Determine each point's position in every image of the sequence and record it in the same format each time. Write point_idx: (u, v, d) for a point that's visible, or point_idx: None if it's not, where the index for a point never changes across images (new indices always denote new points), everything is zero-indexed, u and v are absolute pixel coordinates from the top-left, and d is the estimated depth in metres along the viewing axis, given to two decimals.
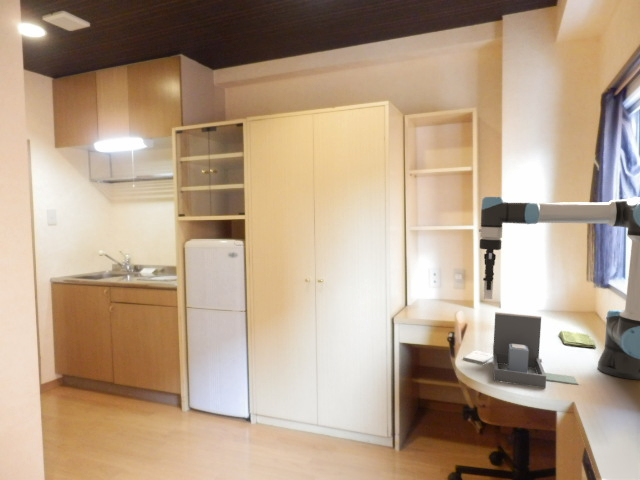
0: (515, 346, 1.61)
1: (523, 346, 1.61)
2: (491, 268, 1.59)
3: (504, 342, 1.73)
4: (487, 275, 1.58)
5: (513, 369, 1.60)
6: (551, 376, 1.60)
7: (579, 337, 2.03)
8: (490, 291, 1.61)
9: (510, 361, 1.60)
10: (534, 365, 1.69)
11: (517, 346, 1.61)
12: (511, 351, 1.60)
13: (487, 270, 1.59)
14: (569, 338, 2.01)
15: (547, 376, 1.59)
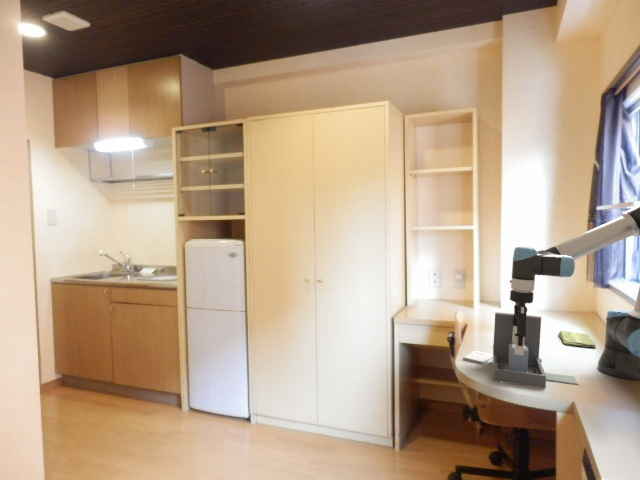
0: None
1: None
2: (523, 324, 1.53)
3: (504, 342, 1.73)
4: (519, 331, 1.52)
5: (513, 369, 1.60)
6: (551, 376, 1.60)
7: (579, 337, 2.03)
8: (521, 347, 1.54)
9: (510, 361, 1.60)
10: (534, 365, 1.69)
11: None
12: (511, 351, 1.60)
13: (519, 326, 1.53)
14: (569, 338, 2.01)
15: (547, 376, 1.59)
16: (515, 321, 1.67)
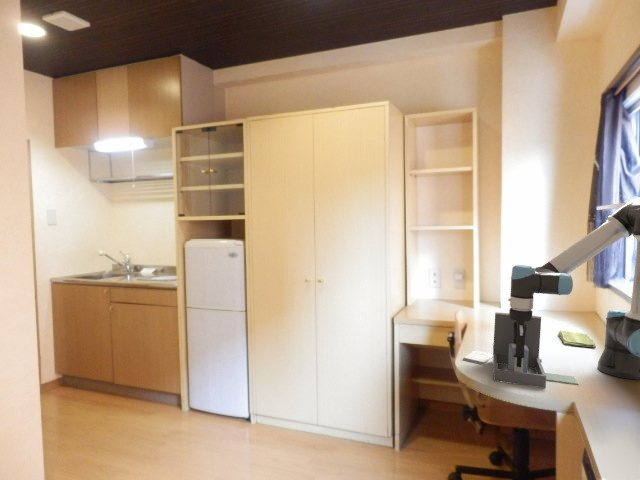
0: (515, 346, 1.61)
1: None
2: (522, 346, 1.55)
3: (504, 342, 1.73)
4: (518, 353, 1.56)
5: (513, 369, 1.60)
6: (551, 376, 1.60)
7: (579, 337, 2.03)
8: (520, 368, 1.58)
9: (510, 361, 1.60)
10: (534, 365, 1.69)
11: None
12: (511, 351, 1.60)
13: (518, 348, 1.56)
14: (569, 338, 2.01)
15: (547, 376, 1.59)
16: None
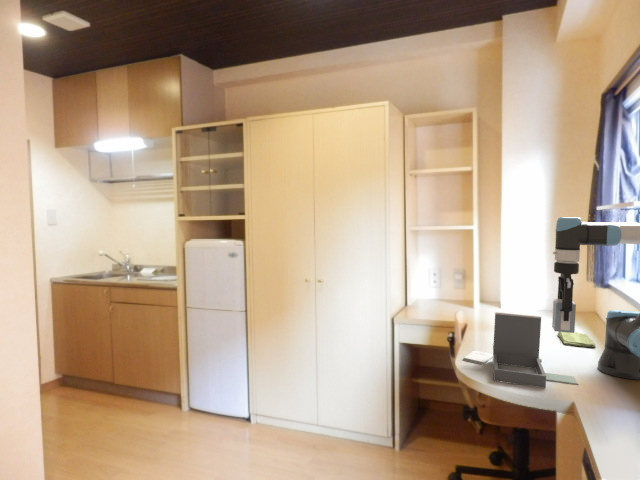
0: (561, 300, 1.56)
1: None
2: (570, 299, 1.50)
3: (504, 342, 1.73)
4: (565, 306, 1.51)
5: (559, 324, 1.55)
6: (551, 376, 1.60)
7: (578, 337, 2.03)
8: (567, 322, 1.53)
9: (556, 316, 1.55)
10: (534, 365, 1.69)
11: None
12: (557, 305, 1.55)
13: (565, 301, 1.51)
14: (569, 338, 2.01)
15: (547, 376, 1.59)
16: None
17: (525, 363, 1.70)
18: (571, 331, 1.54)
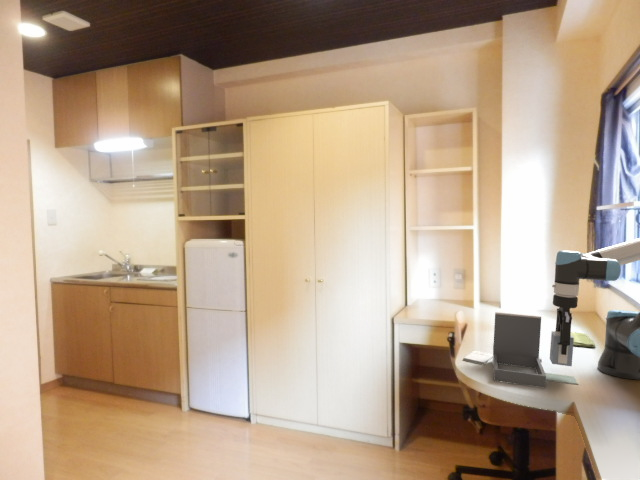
0: (559, 333, 1.57)
1: None
2: (568, 333, 1.51)
3: (504, 342, 1.73)
4: (563, 340, 1.51)
5: (557, 357, 1.56)
6: (551, 376, 1.60)
7: (578, 337, 2.03)
8: (565, 355, 1.54)
9: (554, 348, 1.56)
10: (534, 365, 1.69)
11: None
12: (555, 338, 1.56)
13: (563, 335, 1.51)
14: None
15: (547, 376, 1.59)
16: None
17: (525, 363, 1.70)
18: (568, 364, 1.55)
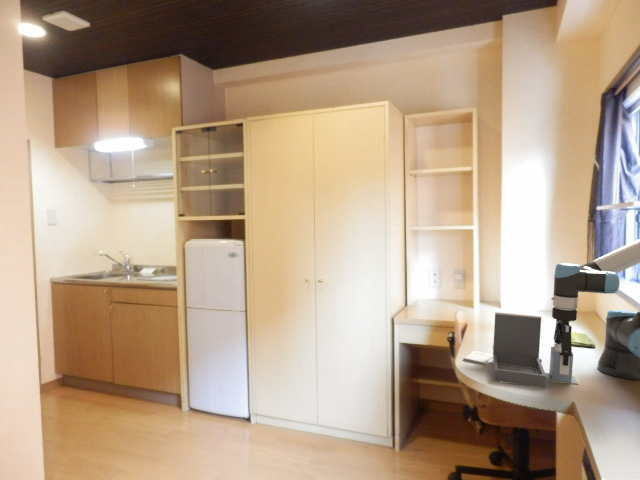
0: (558, 349, 1.57)
1: None
2: (569, 343, 1.49)
3: (504, 342, 1.73)
4: None
5: (557, 372, 1.56)
6: None
7: (578, 337, 2.03)
8: (567, 366, 1.51)
9: (554, 364, 1.56)
10: (534, 365, 1.69)
11: (560, 349, 1.57)
12: (555, 354, 1.56)
13: (564, 345, 1.49)
14: None
15: (547, 376, 1.59)
16: (557, 339, 1.63)
17: (525, 363, 1.70)
18: (568, 380, 1.55)
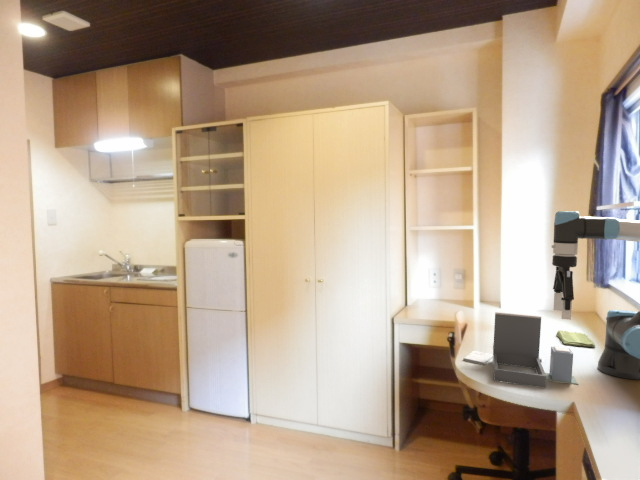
0: (558, 349, 1.57)
1: (566, 349, 1.58)
2: (570, 287, 1.50)
3: (504, 342, 1.73)
4: (567, 295, 1.50)
5: (557, 372, 1.56)
6: None
7: (578, 337, 2.03)
8: (569, 311, 1.52)
9: (554, 364, 1.56)
10: (534, 365, 1.69)
11: (560, 349, 1.57)
12: (555, 354, 1.56)
13: (566, 289, 1.50)
14: (568, 338, 2.01)
15: (547, 376, 1.59)
16: (556, 287, 1.65)
17: (525, 363, 1.70)
18: (568, 380, 1.55)
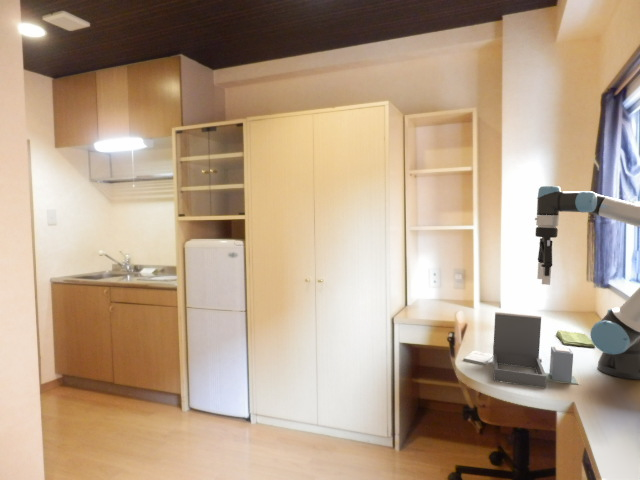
0: (558, 349, 1.57)
1: (566, 349, 1.58)
2: (550, 255, 1.65)
3: (504, 342, 1.73)
4: (546, 261, 1.64)
5: (557, 372, 1.56)
6: None
7: (577, 337, 2.04)
8: (548, 277, 1.67)
9: (554, 364, 1.56)
10: (534, 365, 1.69)
11: (560, 349, 1.57)
12: (555, 354, 1.56)
13: (546, 257, 1.65)
14: (568, 338, 2.02)
15: (547, 376, 1.59)
16: (540, 258, 1.79)
17: (525, 363, 1.70)
18: (568, 380, 1.55)
